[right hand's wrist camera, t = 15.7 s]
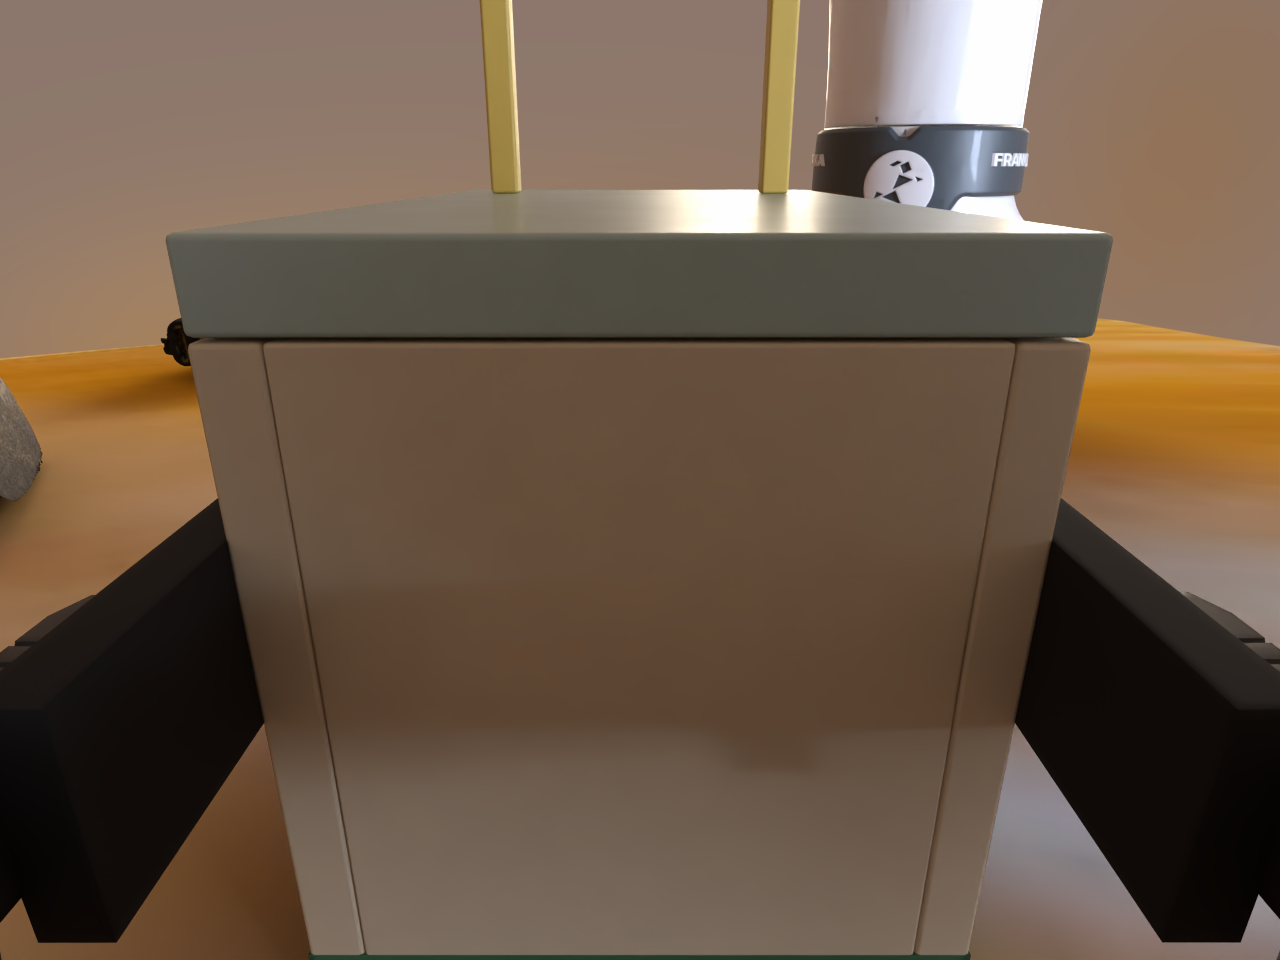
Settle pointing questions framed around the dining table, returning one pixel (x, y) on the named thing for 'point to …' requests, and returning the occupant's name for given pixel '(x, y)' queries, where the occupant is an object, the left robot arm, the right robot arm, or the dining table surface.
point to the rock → (16, 448)
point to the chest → (639, 632)
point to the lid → (639, 254)
